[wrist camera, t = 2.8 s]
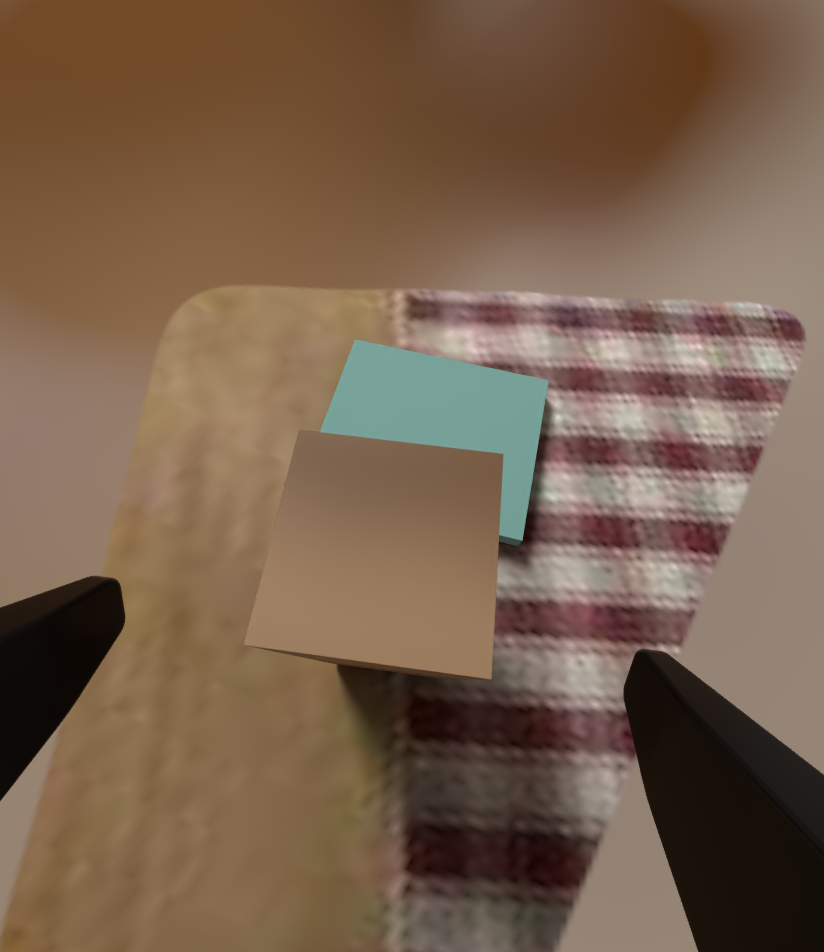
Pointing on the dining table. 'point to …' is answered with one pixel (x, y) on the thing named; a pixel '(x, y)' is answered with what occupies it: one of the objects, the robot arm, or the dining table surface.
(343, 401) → the mat
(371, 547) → the walnut block
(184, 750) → the dining table surface
